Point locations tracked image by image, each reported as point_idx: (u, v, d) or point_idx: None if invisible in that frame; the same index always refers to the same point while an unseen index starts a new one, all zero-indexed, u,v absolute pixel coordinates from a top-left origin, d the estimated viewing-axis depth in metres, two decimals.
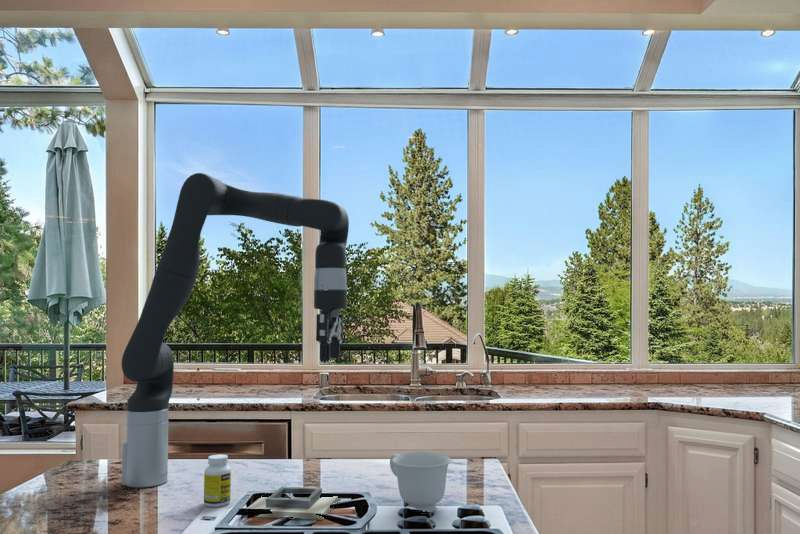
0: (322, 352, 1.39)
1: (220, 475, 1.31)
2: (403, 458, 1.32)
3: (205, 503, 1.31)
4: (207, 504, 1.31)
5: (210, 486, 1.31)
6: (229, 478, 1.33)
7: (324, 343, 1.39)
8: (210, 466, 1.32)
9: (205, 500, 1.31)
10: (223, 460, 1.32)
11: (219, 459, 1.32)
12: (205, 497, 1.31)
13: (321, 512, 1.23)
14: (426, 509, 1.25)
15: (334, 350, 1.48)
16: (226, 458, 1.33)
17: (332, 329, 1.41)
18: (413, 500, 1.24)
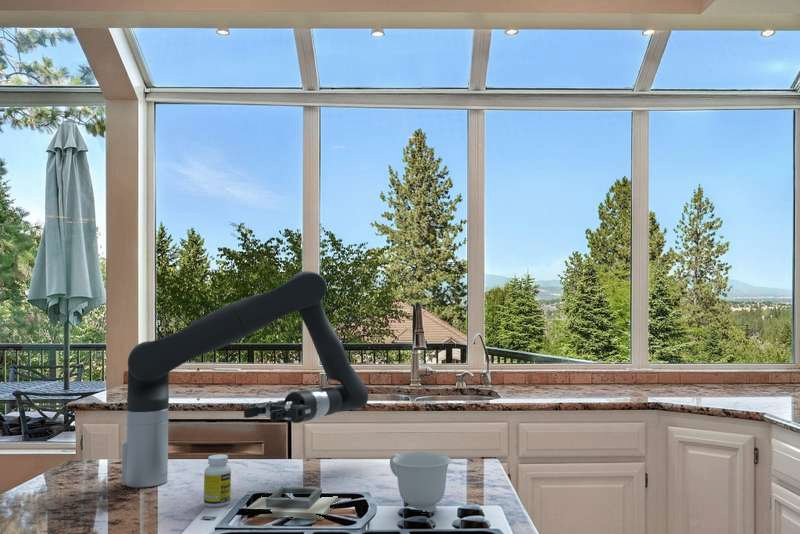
0: (280, 414, 1.42)
1: (220, 475, 1.31)
2: (403, 458, 1.32)
3: (205, 503, 1.31)
4: (207, 504, 1.31)
5: (210, 486, 1.31)
6: (229, 478, 1.33)
7: (287, 415, 1.43)
8: (210, 466, 1.32)
9: (205, 500, 1.31)
10: (223, 460, 1.32)
11: (219, 459, 1.32)
12: (205, 497, 1.31)
13: (321, 512, 1.23)
14: (426, 509, 1.25)
15: (252, 412, 1.47)
16: (226, 458, 1.33)
17: (290, 418, 1.47)
18: (413, 500, 1.24)
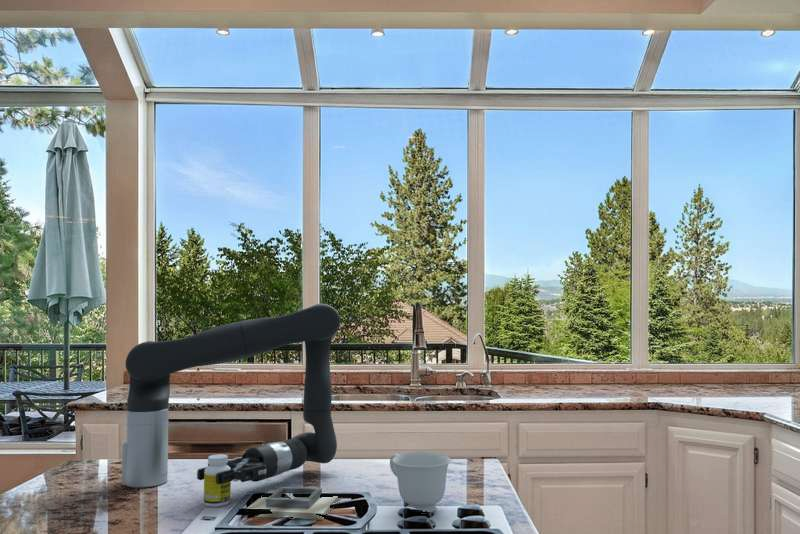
0: (227, 476, 1.30)
1: None
2: (403, 458, 1.32)
3: (205, 503, 1.31)
4: (207, 504, 1.31)
5: (210, 486, 1.31)
6: None
7: (236, 476, 1.32)
8: (210, 466, 1.32)
9: (205, 500, 1.31)
10: (223, 460, 1.32)
11: (219, 459, 1.32)
12: (205, 497, 1.31)
13: (321, 512, 1.23)
14: (426, 509, 1.25)
15: None
16: (226, 458, 1.33)
17: None
18: (413, 500, 1.24)
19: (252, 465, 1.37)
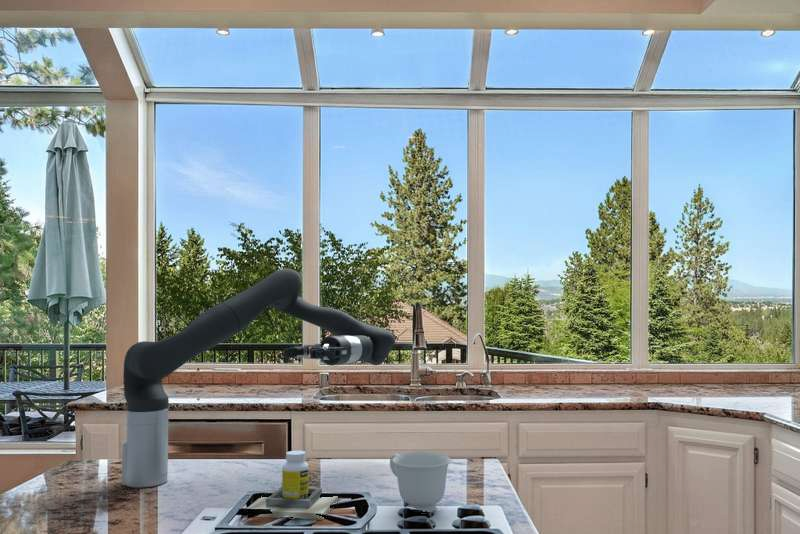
0: (319, 352, 1.51)
1: (300, 472, 1.28)
2: (403, 458, 1.32)
3: None
4: None
5: (289, 483, 1.28)
6: (307, 475, 1.30)
7: (326, 354, 1.52)
8: (288, 462, 1.30)
9: (284, 497, 1.28)
10: (302, 457, 1.30)
11: (298, 455, 1.29)
12: (284, 494, 1.28)
13: (321, 512, 1.23)
14: (426, 509, 1.25)
15: (291, 352, 1.56)
16: (304, 454, 1.30)
17: (328, 358, 1.56)
18: (413, 500, 1.24)
19: (333, 348, 1.57)
